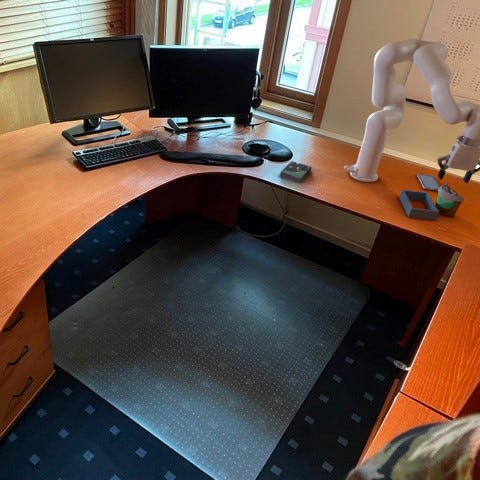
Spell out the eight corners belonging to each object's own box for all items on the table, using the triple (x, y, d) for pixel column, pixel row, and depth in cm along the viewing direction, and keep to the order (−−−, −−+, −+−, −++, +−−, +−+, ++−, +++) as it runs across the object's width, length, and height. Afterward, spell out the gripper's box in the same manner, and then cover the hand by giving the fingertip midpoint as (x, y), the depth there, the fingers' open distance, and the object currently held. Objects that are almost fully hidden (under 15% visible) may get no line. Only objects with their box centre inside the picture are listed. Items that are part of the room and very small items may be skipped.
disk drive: (290, 166, 229) (279, 177, 219) (291, 160, 228) (280, 171, 217) (310, 171, 225) (300, 183, 214) (312, 166, 223) (302, 177, 213)
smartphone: (433, 175, 224) (441, 189, 211) (432, 177, 224) (440, 191, 212) (416, 173, 225) (424, 187, 212) (416, 175, 225) (423, 189, 213)
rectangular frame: (408, 217, 193) (411, 208, 191) (399, 197, 206) (402, 189, 204) (435, 220, 192) (439, 211, 189) (424, 200, 205) (427, 192, 203)
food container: (425, 203, 203) (433, 183, 197) (438, 203, 203) (447, 183, 197) (441, 218, 193) (450, 197, 187) (455, 218, 193) (465, 197, 187)
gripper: (450, 141, 178) (432, 181, 188) (498, 147, 176) (478, 187, 186) (444, 134, 184) (427, 172, 194) (491, 139, 182) (471, 178, 192)
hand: (452, 179), depth 190 cm, fingers open, 9 cm apart
